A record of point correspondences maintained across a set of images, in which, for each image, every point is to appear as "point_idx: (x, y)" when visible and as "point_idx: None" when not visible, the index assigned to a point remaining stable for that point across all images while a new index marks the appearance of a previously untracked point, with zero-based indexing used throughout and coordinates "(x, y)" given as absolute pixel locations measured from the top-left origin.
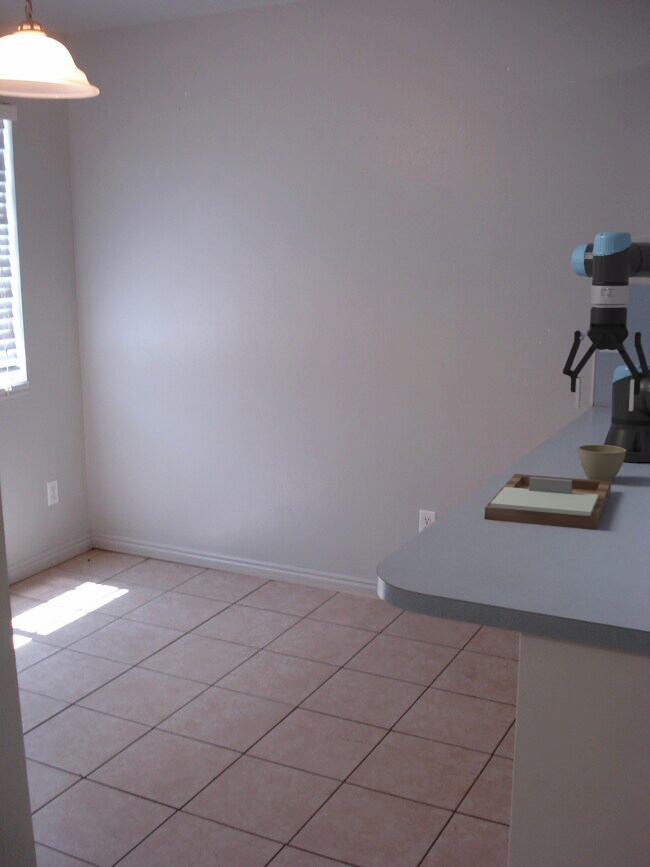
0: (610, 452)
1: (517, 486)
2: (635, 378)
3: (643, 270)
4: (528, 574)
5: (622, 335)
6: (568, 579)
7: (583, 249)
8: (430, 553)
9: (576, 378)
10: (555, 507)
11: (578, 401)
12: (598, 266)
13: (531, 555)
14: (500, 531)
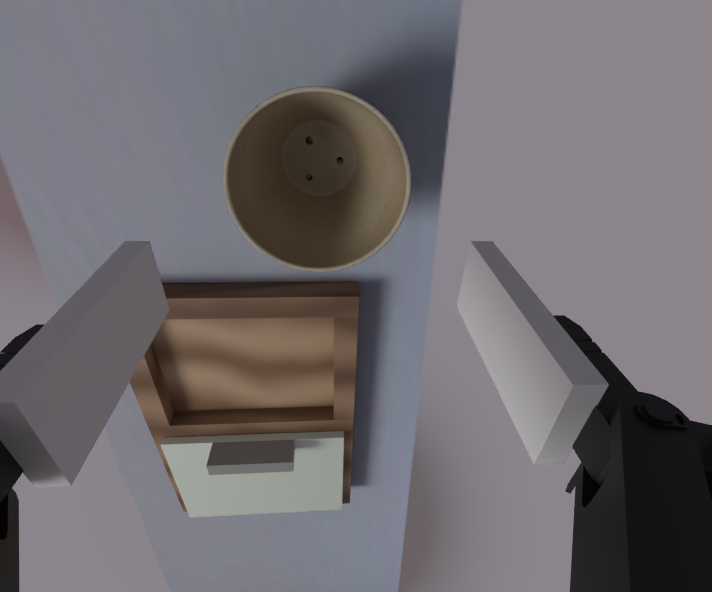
0: (347, 99)
1: (154, 366)
2: (586, 477)
3: None
4: (303, 583)
5: None
6: (338, 581)
7: None
8: (196, 577)
9: (36, 486)
10: (289, 508)
11: (152, 337)
12: None
13: (293, 557)
14: (233, 520)
